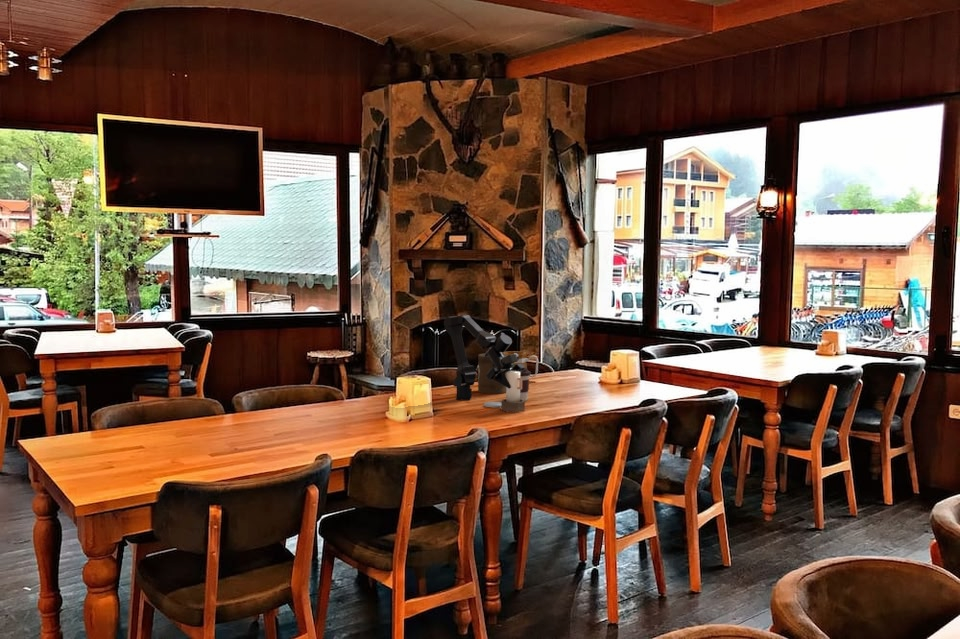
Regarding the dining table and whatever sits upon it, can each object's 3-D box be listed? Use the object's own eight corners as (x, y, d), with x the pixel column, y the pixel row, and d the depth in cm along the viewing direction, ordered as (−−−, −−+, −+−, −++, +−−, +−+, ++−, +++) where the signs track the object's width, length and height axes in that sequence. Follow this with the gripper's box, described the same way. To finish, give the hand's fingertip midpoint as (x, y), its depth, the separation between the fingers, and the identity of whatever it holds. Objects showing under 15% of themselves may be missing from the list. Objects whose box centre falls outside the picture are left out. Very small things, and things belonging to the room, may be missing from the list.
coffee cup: (530, 398, 357) (530, 366, 356) (529, 402, 348) (530, 369, 346) (509, 397, 358) (509, 366, 357) (508, 401, 348) (508, 369, 347)
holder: (496, 409, 331) (496, 400, 331) (513, 406, 338) (513, 397, 338) (512, 413, 324) (512, 403, 323) (529, 410, 330) (529, 400, 330)
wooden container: (489, 387, 386) (489, 344, 384) (514, 390, 377) (514, 346, 375) (472, 392, 374) (472, 347, 372) (497, 395, 365) (497, 349, 363)
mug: (499, 382, 402) (499, 354, 400) (503, 378, 415) (503, 350, 414) (537, 383, 398) (537, 355, 397) (539, 379, 412) (539, 351, 410)
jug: (503, 401, 331) (503, 371, 330) (513, 399, 335) (513, 370, 334) (516, 404, 325) (516, 374, 324) (526, 402, 329) (526, 372, 328)
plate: (483, 407, 335) (483, 405, 335) (484, 403, 345) (484, 401, 345) (506, 408, 334) (506, 406, 334) (506, 403, 344) (506, 401, 344)
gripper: (491, 349, 325) (509, 377, 318) (522, 345, 338) (540, 373, 330) (479, 365, 332) (496, 393, 325) (509, 361, 344) (527, 388, 337)
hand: (515, 387), depth 329 cm, fingers closed on jug, 6 cm apart
